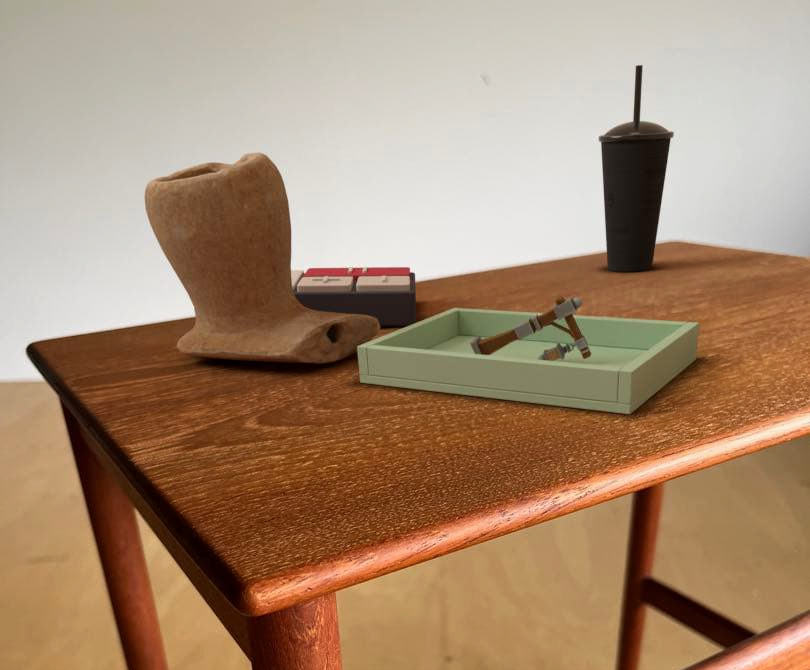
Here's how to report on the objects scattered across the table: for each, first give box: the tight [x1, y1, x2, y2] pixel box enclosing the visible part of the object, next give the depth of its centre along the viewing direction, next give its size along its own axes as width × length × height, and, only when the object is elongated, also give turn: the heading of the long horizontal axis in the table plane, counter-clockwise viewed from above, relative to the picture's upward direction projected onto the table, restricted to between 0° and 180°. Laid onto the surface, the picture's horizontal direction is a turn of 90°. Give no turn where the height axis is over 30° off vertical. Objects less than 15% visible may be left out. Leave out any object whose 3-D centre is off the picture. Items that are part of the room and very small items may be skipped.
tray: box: [356, 307, 700, 415], centre depth 61 cm, size 20×14×3 cm
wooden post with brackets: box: [470, 295, 591, 361], centre depth 61 cm, size 2×8×4 cm, turn 74°
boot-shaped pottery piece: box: [144, 152, 381, 365], centre depth 66 cm, size 15×12×15 cm
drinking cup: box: [598, 64, 675, 273], centre depth 94 cm, size 8×8×20 cm
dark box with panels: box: [291, 266, 417, 327], centre depth 82 cm, size 11×4×15 cm
